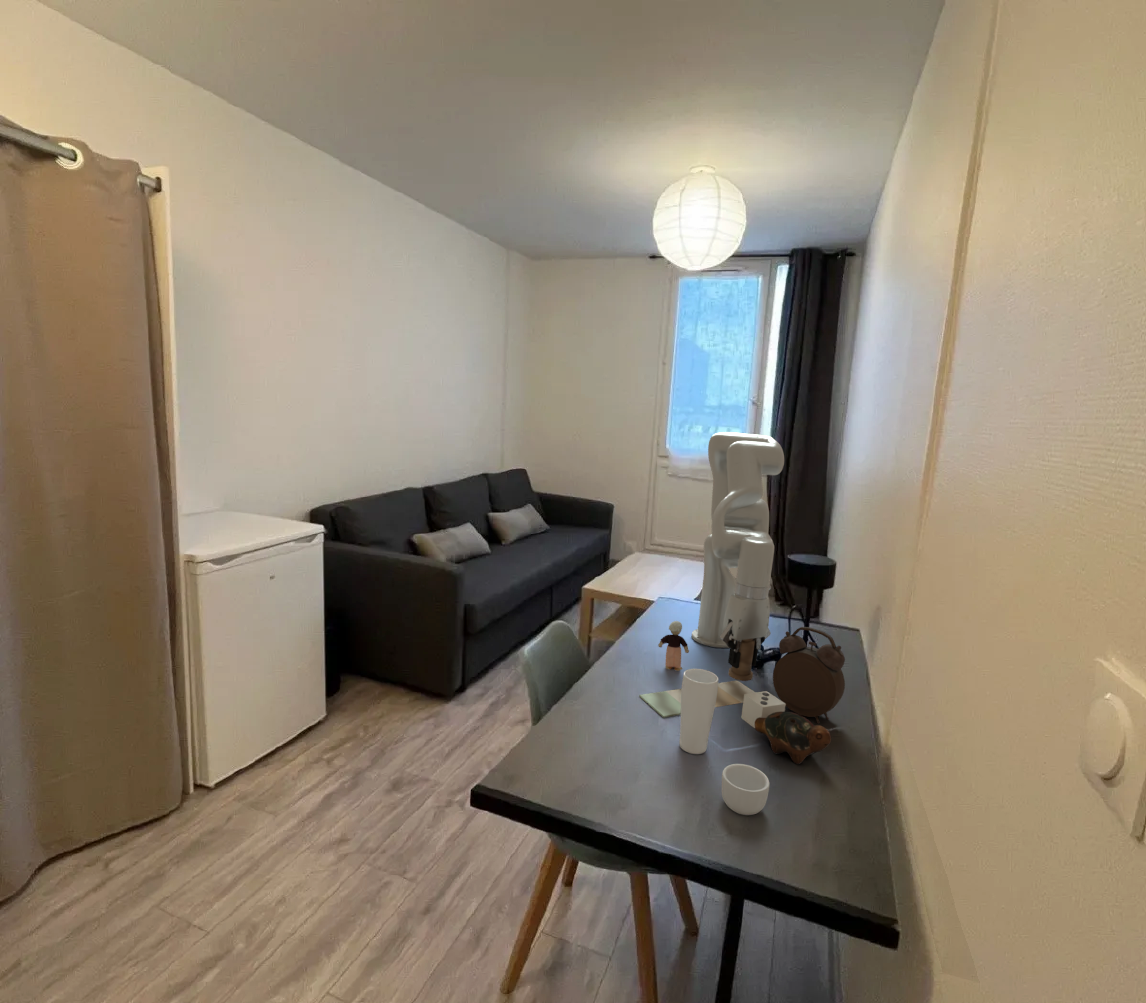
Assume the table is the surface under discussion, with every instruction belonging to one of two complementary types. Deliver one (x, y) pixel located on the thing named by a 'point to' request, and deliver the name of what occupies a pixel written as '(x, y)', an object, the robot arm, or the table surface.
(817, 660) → the alarm clock
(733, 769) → the teacup
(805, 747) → the decorative turtle
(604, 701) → the table surface
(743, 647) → the pawn
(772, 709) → the die
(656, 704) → the track board
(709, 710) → the drinking glass
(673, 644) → the grandmother figurine
